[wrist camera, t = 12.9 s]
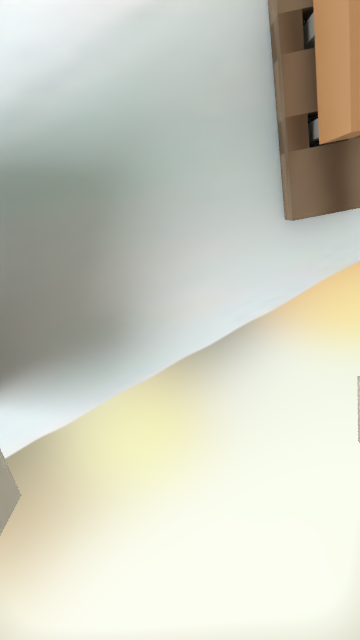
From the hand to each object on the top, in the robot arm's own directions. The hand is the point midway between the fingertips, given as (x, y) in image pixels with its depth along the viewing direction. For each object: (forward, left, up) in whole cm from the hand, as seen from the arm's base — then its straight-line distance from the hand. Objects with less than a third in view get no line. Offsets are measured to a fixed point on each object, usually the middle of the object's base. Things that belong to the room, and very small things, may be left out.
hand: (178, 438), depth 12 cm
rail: (+17, +16, -29) cm, 37 cm away
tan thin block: (+17, +16, -29) cm, 37 cm away
